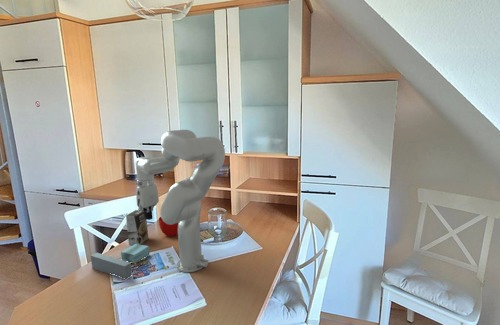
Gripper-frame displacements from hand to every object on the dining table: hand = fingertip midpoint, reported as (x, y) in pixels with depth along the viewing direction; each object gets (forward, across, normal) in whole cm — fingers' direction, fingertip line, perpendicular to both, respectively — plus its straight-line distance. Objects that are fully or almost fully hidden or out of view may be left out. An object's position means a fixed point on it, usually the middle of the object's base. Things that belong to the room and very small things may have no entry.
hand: (149, 219), depth 142 cm
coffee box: (+16, +4, +13) cm, 21 cm away
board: (+16, -23, 0) cm, 28 cm away
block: (+16, -10, -1) cm, 19 cm away
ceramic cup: (+16, +18, +2) cm, 24 cm away
